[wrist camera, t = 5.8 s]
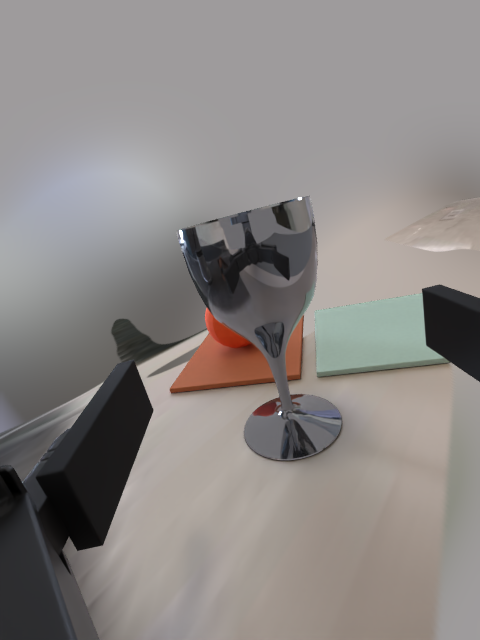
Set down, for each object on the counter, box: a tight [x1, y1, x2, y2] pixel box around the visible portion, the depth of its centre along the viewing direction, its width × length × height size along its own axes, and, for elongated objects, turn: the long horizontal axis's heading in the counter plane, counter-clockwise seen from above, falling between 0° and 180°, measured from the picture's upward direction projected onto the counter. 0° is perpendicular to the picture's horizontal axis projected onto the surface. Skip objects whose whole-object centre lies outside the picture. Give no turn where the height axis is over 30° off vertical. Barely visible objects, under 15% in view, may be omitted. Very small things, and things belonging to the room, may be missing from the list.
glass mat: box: [315, 293, 450, 377], centre depth 34 cm, size 13×16×1 cm
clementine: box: [205, 308, 251, 348], centre depth 37 cm, size 8×7×7 cm
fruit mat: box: [170, 315, 304, 393], centre depth 38 cm, size 13×16×1 cm
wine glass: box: [176, 196, 342, 460], centre depth 21 cm, size 8×8×15 cm
